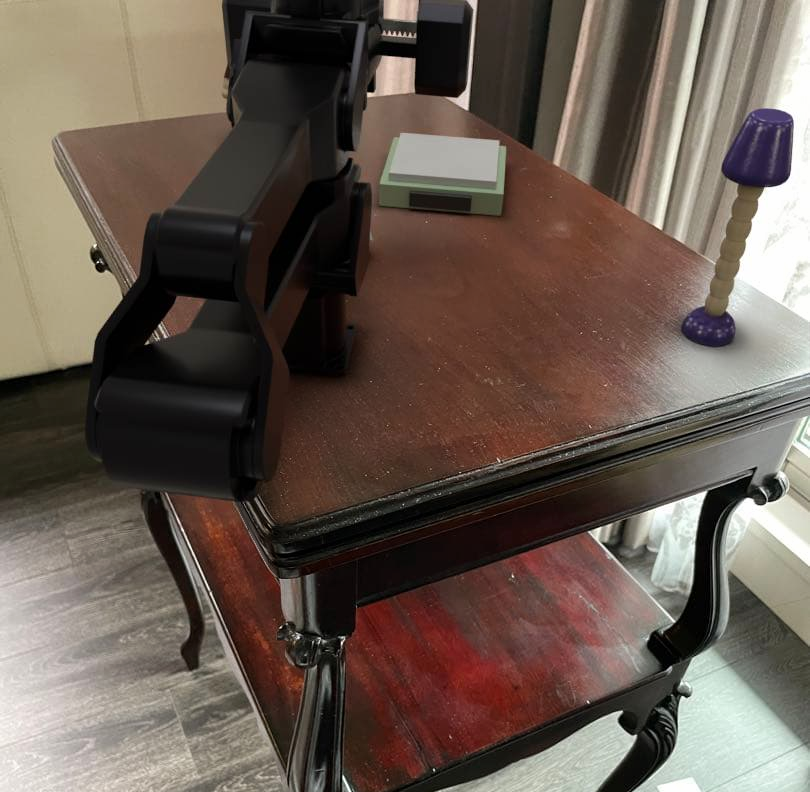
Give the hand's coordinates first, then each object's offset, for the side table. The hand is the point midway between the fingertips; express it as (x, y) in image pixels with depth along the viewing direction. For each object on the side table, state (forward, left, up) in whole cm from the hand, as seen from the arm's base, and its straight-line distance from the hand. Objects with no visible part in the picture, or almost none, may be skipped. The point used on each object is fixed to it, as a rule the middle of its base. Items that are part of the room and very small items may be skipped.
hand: (366, 13), depth 70 cm
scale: (+7, -7, -17) cm, 19 cm away
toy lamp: (-17, -30, -17) cm, 39 cm away
